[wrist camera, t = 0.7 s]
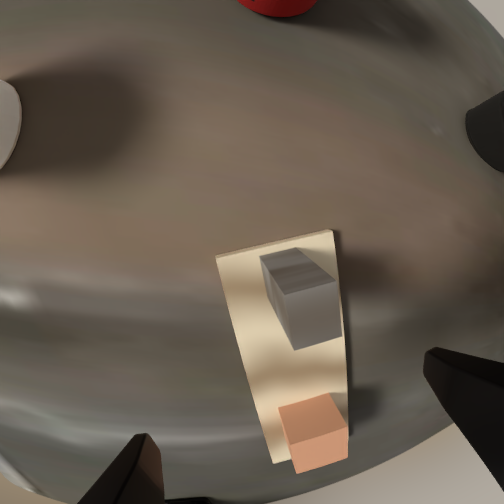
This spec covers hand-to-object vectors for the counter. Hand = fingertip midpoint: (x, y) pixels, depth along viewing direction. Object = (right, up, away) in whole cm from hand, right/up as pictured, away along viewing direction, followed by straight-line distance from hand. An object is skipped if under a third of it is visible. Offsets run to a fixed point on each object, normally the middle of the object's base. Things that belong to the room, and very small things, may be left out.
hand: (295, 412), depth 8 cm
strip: (+2, -5, +16) cm, 17 cm away
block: (+4, -10, +16) cm, 19 cm away
